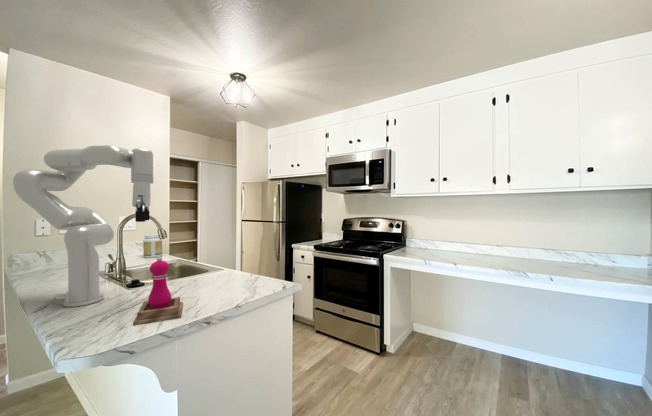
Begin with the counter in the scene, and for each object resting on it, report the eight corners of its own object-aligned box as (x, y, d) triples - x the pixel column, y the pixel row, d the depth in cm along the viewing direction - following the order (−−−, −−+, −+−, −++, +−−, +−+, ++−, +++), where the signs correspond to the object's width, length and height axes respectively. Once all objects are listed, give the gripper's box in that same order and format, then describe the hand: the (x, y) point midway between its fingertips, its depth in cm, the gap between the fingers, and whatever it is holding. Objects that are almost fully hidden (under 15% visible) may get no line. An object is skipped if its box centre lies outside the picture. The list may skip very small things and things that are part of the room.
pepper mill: (160, 315, 94) (159, 259, 94) (143, 314, 95) (142, 258, 95) (176, 308, 101) (175, 255, 101) (159, 306, 102) (159, 254, 102)
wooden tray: (133, 325, 89) (133, 314, 89) (141, 310, 101) (141, 301, 101) (181, 317, 95) (180, 307, 95) (183, 304, 107) (183, 295, 107)
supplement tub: (161, 254, 213) (160, 233, 213) (163, 257, 204) (163, 234, 204) (142, 256, 206) (142, 234, 205) (144, 259, 196) (144, 236, 196)
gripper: (135, 180, 116) (136, 220, 117) (126, 177, 101) (126, 222, 101) (156, 181, 120) (156, 219, 120) (149, 178, 104) (150, 222, 104)
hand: (142, 220), depth 111 cm, fingers open, 9 cm apart
